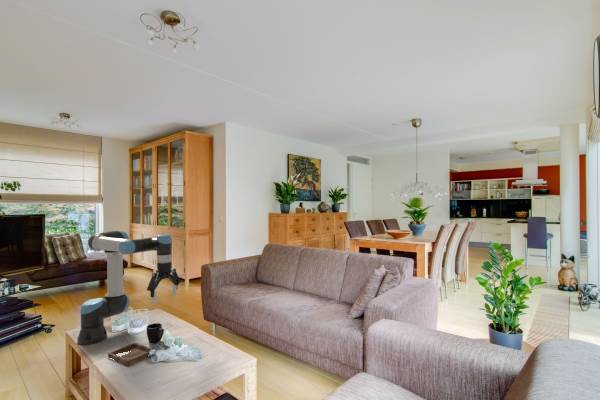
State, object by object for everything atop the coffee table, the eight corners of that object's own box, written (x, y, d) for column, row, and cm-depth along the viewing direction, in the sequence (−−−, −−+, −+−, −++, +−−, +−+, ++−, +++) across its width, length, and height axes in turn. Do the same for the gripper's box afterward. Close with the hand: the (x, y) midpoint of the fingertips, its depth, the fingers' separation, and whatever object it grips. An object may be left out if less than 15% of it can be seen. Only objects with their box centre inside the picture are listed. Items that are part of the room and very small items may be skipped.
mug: (156, 347, 179) (156, 330, 179) (143, 342, 185) (143, 326, 185) (168, 342, 186) (168, 326, 186) (156, 337, 192) (156, 322, 192)
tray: (108, 358, 167) (108, 353, 167) (134, 346, 180) (134, 342, 180) (128, 366, 158) (128, 361, 158) (154, 354, 171) (154, 349, 171)
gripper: (148, 266, 165) (148, 306, 165) (186, 258, 187) (186, 294, 187) (139, 265, 169) (139, 304, 169) (178, 257, 191) (178, 292, 190)
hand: (164, 299), depth 178 cm, fingers open, 13 cm apart
